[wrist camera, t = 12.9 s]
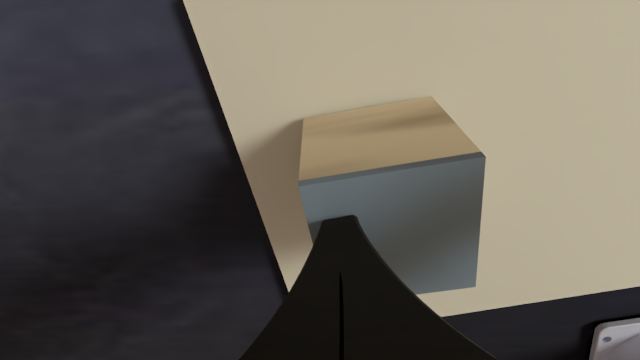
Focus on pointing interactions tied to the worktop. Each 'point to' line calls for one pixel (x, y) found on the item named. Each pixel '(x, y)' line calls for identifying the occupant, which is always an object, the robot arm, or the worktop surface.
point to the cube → (399, 187)
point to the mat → (467, 112)
